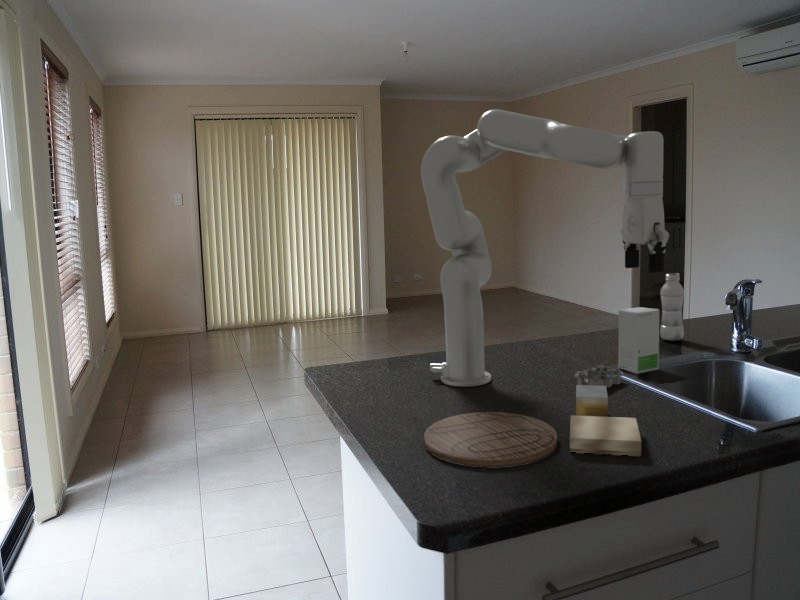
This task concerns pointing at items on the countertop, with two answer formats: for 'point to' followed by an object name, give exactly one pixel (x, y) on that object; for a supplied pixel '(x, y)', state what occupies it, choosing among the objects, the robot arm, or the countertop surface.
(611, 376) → the egg carton
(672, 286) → the plastic bottle
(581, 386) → the block
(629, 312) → the skincare box
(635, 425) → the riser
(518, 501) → the countertop surface
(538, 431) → the trivet
